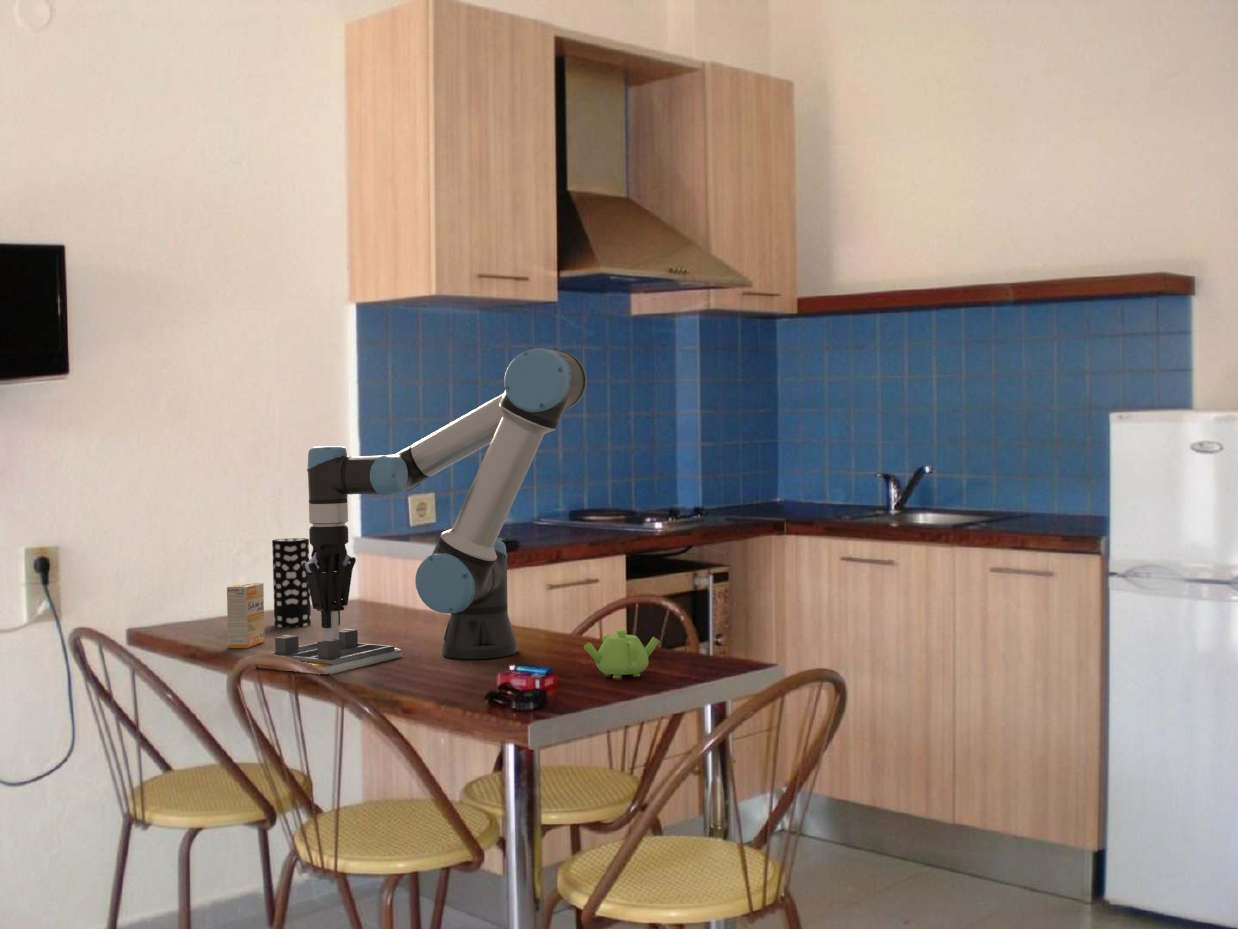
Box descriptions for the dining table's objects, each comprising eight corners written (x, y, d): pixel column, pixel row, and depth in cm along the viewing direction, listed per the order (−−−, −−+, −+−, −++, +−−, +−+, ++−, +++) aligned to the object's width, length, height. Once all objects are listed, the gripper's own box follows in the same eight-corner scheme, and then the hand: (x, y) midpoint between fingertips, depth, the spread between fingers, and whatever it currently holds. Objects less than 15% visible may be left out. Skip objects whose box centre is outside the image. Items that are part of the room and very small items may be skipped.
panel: (401, 657, 277) (401, 644, 277) (325, 675, 258) (324, 662, 258) (334, 650, 286) (333, 638, 286) (255, 668, 267) (255, 655, 267)
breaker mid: (358, 649, 277) (357, 628, 277) (345, 652, 274) (345, 631, 274) (348, 648, 278) (347, 627, 278) (335, 651, 275) (335, 630, 275)
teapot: (640, 684, 245) (639, 636, 244) (580, 680, 249) (579, 633, 249) (661, 672, 255) (661, 627, 255) (604, 669, 259) (603, 624, 259)
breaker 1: (298, 656, 270) (298, 634, 270) (285, 659, 267) (284, 637, 267) (289, 655, 272) (288, 634, 272) (275, 658, 269) (275, 636, 268)
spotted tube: (318, 623, 324) (316, 538, 324) (292, 628, 317) (290, 541, 317) (293, 621, 329) (290, 537, 328) (266, 626, 322) (264, 540, 321)
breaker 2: (341, 660, 265) (340, 638, 265) (328, 663, 262) (327, 641, 262) (330, 659, 266) (330, 637, 266) (317, 662, 263) (317, 640, 263)
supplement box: (248, 649, 290) (246, 586, 290) (227, 648, 291) (225, 586, 291) (266, 642, 298) (264, 582, 298) (245, 642, 299) (243, 581, 299)
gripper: (337, 521, 279) (339, 637, 280) (290, 526, 268) (293, 647, 269) (365, 522, 275) (368, 640, 276) (319, 527, 264) (322, 650, 265)
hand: (331, 643), depth 272 cm, fingers closed
